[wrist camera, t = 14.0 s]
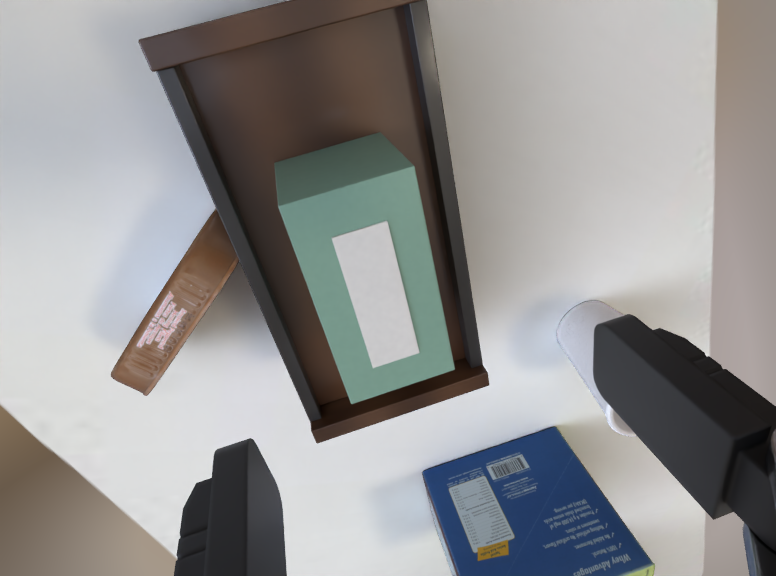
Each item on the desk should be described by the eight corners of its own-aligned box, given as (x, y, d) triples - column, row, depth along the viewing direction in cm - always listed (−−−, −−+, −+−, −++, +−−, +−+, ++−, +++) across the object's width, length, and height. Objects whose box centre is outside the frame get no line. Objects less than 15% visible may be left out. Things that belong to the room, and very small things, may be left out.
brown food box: (171, 345, 38) (139, 426, 31) (131, 327, 37) (88, 407, 29) (274, 192, 33) (265, 246, 26) (231, 166, 32) (209, 214, 24)
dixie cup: (641, 310, 46) (726, 377, 38) (581, 373, 49) (649, 449, 40) (587, 272, 43) (669, 336, 34) (525, 342, 45) (587, 419, 36)
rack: (304, 352, 40) (316, 443, 32) (175, 31, 27) (137, 40, 19) (442, 308, 41) (489, 385, 32) (377, -21, 28) (427, -36, 20)
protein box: (558, 484, 57) (648, 625, 44) (434, 528, 56) (489, 687, 43) (556, 423, 52) (658, 563, 38) (419, 470, 50) (476, 632, 37)
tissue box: (334, 333, 30) (351, 406, 24) (273, 162, 24) (278, 207, 19) (420, 305, 31) (456, 371, 25) (380, 131, 25) (415, 166, 19)
